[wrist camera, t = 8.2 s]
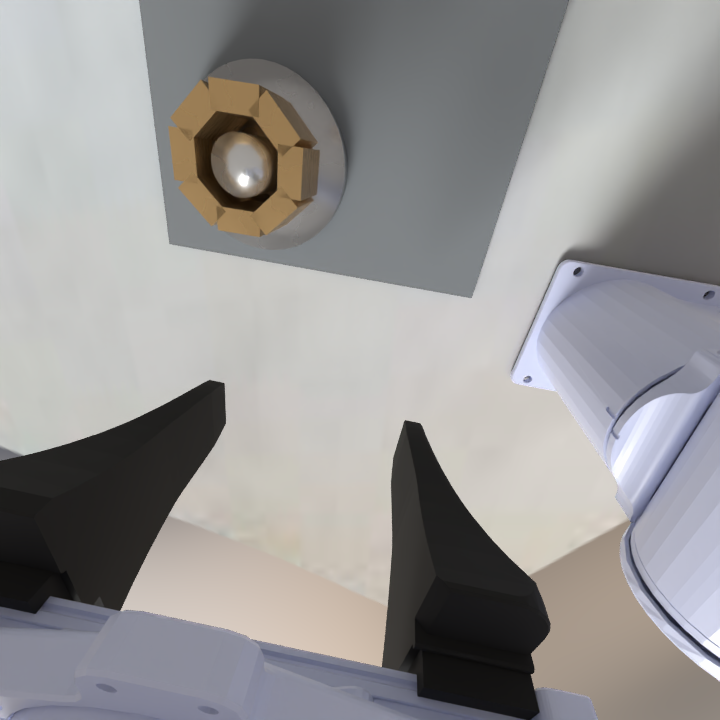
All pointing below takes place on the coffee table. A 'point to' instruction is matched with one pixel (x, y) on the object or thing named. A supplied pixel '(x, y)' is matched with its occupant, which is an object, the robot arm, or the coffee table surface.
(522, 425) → the coffee table surface
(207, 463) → the coffee table surface
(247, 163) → the metal peg stand
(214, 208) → the ring
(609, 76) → the coffee table surface
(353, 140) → the bench mat
